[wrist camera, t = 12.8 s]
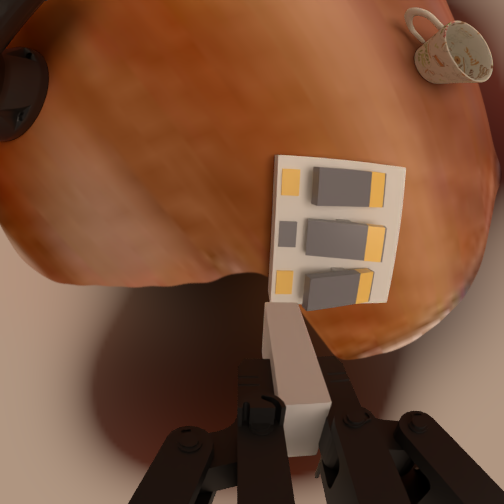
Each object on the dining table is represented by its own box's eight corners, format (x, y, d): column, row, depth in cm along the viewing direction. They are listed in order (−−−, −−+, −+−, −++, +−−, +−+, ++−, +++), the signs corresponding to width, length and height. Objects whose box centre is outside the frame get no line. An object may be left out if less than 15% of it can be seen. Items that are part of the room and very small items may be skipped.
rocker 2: (305, 251, 37) (305, 255, 35) (308, 218, 35) (308, 220, 34) (379, 258, 35) (382, 262, 34) (384, 225, 34) (387, 228, 33)
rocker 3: (301, 306, 36) (307, 311, 35) (305, 274, 35) (310, 278, 34) (363, 296, 39) (369, 301, 38) (368, 267, 38) (374, 271, 36)
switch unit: (268, 290, 43) (271, 307, 38) (274, 155, 37) (279, 154, 33) (375, 290, 43) (389, 305, 39) (392, 166, 38) (409, 168, 33)
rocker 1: (311, 203, 33) (317, 206, 31) (313, 166, 32) (319, 167, 30) (376, 205, 35) (383, 207, 34) (379, 172, 34) (386, 173, 33)
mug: (435, 102, 35) (477, 94, 26) (375, 36, 32) (408, 11, 23) (459, 72, 33) (500, 61, 24) (404, 10, 31) (437, -15, 21)
